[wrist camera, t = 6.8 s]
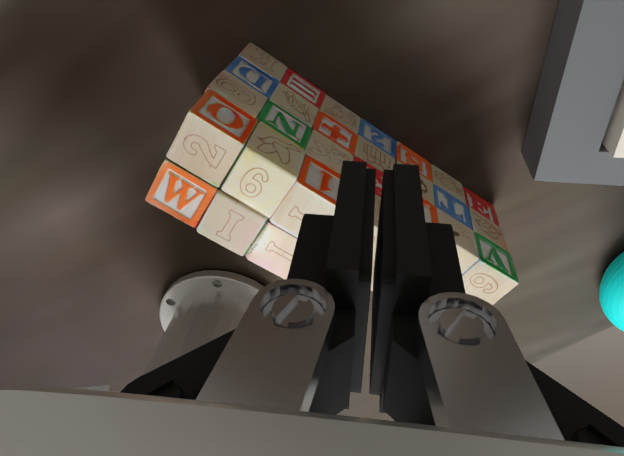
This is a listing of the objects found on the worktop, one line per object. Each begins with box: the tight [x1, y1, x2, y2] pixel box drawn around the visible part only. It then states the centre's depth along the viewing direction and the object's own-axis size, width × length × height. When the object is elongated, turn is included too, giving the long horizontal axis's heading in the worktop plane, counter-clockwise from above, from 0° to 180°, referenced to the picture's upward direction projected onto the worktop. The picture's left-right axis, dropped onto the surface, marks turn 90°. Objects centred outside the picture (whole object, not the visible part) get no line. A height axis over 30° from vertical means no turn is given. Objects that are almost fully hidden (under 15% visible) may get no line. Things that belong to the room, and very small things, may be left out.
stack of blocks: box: [145, 43, 519, 305], centre depth 32 cm, size 21×6×12 cm, turn 58°
